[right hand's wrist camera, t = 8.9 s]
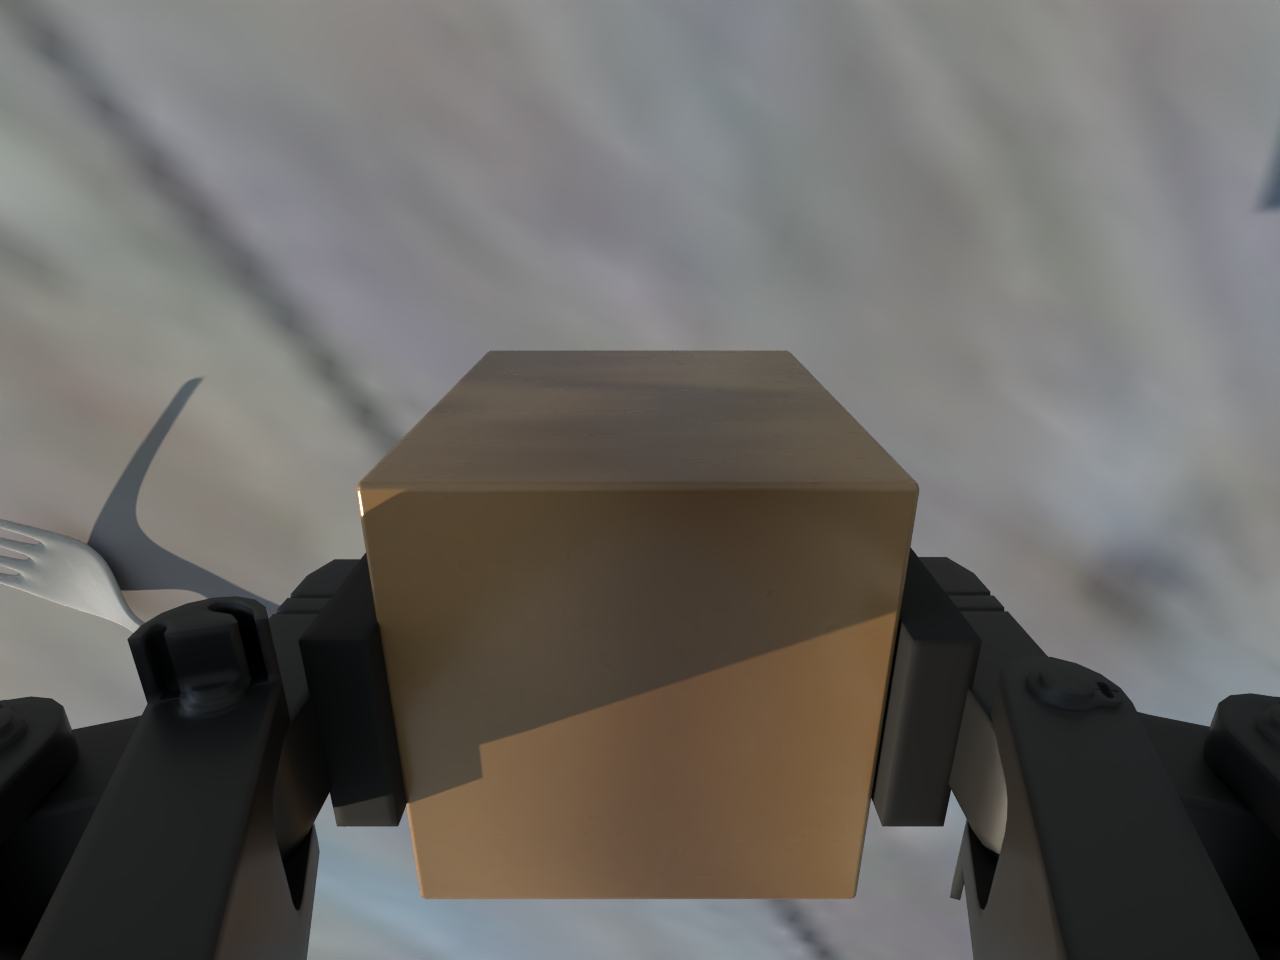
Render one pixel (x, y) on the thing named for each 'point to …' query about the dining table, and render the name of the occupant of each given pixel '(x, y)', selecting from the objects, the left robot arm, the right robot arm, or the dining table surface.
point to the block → (638, 626)
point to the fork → (65, 574)
